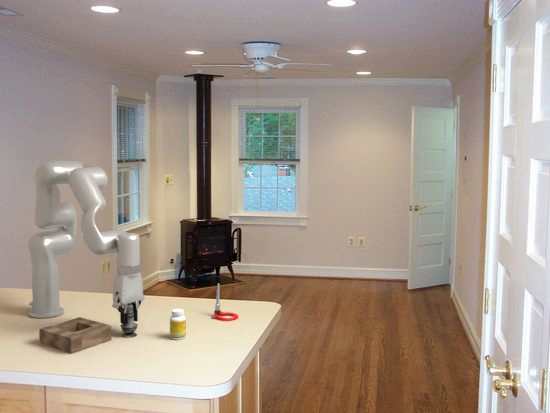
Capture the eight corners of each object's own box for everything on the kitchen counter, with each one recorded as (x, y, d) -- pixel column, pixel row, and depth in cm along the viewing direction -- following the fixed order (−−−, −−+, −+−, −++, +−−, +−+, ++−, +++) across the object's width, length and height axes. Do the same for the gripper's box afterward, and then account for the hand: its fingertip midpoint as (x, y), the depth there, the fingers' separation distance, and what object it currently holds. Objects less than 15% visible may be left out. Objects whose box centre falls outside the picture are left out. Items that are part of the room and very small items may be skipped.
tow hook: (241, 317, 230) (219, 313, 233) (243, 284, 229) (221, 281, 232) (233, 323, 223) (210, 319, 226) (234, 289, 221) (211, 286, 224)
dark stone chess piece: (133, 338, 202) (133, 304, 201) (117, 337, 203) (116, 302, 202) (140, 333, 208) (140, 299, 207) (125, 331, 209) (124, 298, 208)
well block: (39, 343, 196) (39, 328, 195) (79, 331, 209) (79, 317, 209) (71, 353, 187) (71, 338, 187) (111, 340, 200) (111, 325, 200)
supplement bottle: (167, 336, 205) (167, 309, 204) (183, 334, 208) (183, 307, 207) (172, 341, 201) (172, 313, 200) (187, 339, 203) (187, 311, 202)
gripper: (138, 264, 212) (139, 314, 214) (101, 272, 198) (102, 326, 200) (154, 267, 208) (154, 318, 210) (117, 275, 194) (118, 330, 196)
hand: (129, 321), depth 205 cm, fingers closed on dark stone chess piece, 3 cm apart
